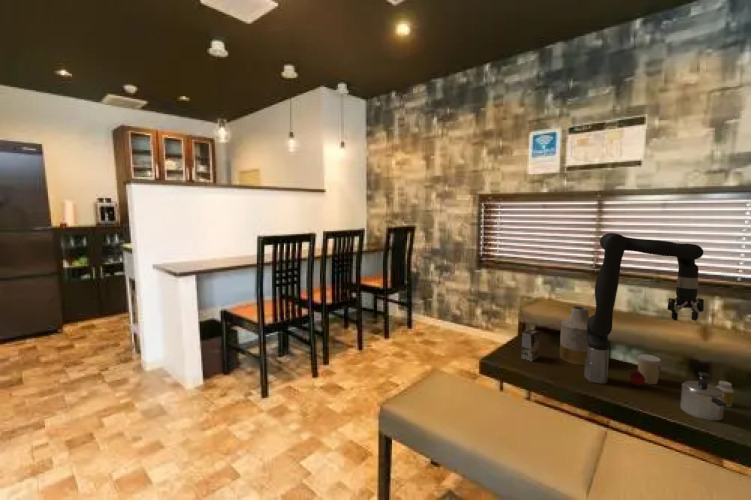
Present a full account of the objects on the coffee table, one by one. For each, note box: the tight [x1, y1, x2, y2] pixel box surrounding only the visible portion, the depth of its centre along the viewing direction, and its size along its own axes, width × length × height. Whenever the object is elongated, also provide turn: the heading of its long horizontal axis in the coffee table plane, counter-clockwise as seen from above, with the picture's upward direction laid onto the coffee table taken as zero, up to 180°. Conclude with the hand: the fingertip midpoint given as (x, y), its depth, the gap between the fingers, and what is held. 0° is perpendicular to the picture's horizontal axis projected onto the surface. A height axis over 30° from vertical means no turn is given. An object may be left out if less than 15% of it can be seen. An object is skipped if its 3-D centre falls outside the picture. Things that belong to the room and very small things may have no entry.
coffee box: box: [520, 328, 540, 362], centre depth 207 cm, size 9×6×16 cm
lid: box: [684, 371, 723, 397], centre depth 149 cm, size 12×12×7 cm
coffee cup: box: [637, 353, 662, 385], centre depth 178 cm, size 9×9×12 cm
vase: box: [559, 305, 591, 366], centre depth 204 cm, size 18×18×30 cm
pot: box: [679, 380, 727, 422], centre depth 150 cm, size 19×13×10 cm
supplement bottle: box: [716, 380, 734, 408], centre depth 156 cm, size 5×5×10 cm
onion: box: [629, 369, 645, 387], centre depth 173 cm, size 6×6×8 cm
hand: (684, 320), depth 166 cm, fingers open, 8 cm apart
